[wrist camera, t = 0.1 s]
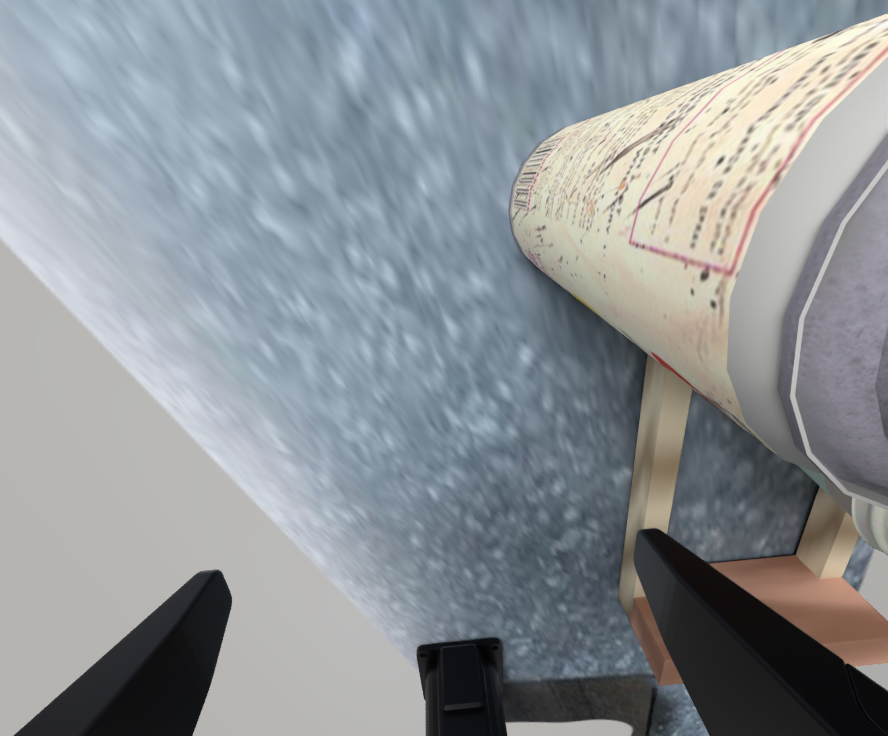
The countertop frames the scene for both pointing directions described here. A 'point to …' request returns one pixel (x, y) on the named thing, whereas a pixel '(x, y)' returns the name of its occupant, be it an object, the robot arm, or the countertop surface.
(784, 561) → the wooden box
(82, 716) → the robot arm
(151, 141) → the countertop surface
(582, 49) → the countertop surface
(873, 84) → the aerosol can
